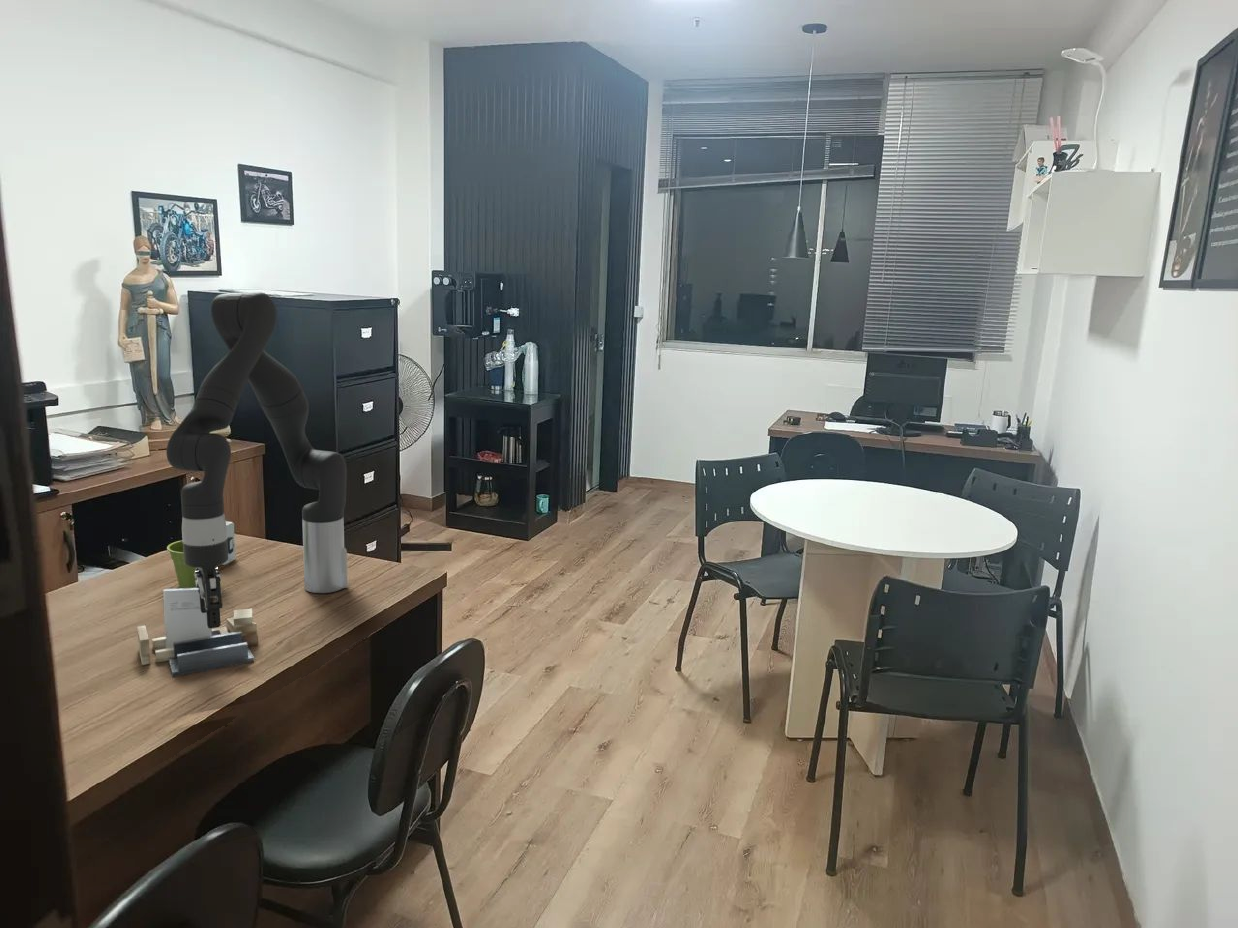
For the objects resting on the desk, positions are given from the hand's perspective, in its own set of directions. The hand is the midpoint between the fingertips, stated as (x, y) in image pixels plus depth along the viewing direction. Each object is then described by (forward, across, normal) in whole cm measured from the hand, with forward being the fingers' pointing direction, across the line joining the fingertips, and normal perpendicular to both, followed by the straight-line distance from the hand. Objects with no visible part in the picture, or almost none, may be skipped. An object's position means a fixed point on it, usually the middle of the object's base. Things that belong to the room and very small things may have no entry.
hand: (210, 619), depth 162 cm
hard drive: (+9, +8, +3) cm, 12 cm away
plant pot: (+9, +42, -3) cm, 43 cm away
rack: (+9, +8, +3) cm, 12 cm away
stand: (+9, 0, 0) cm, 9 cm away
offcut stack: (+9, +8, -7) cm, 14 cm away
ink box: (+9, +58, -9) cm, 59 cm away
